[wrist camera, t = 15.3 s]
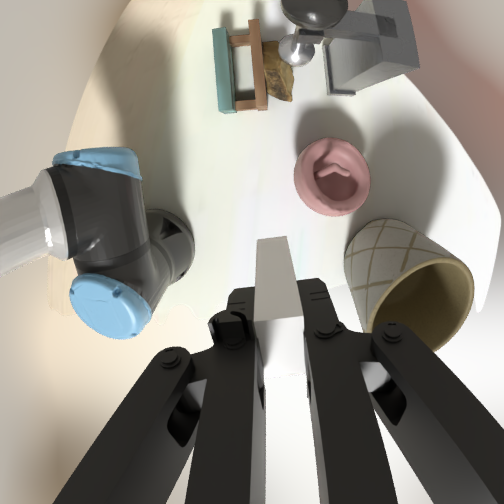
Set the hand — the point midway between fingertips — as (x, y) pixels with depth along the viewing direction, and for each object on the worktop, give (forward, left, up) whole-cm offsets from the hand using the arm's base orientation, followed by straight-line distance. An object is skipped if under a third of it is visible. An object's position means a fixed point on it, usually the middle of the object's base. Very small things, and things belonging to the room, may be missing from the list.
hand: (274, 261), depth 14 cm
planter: (+22, -17, -35) cm, 44 cm away
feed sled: (-3, +18, -34) cm, 38 cm away
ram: (+5, +18, -23) cm, 29 cm away
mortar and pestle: (+10, 0, -35) cm, 36 cm away
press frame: (+9, +18, -34) cm, 40 cm away
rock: (+2, +18, -34) cm, 38 cm away
